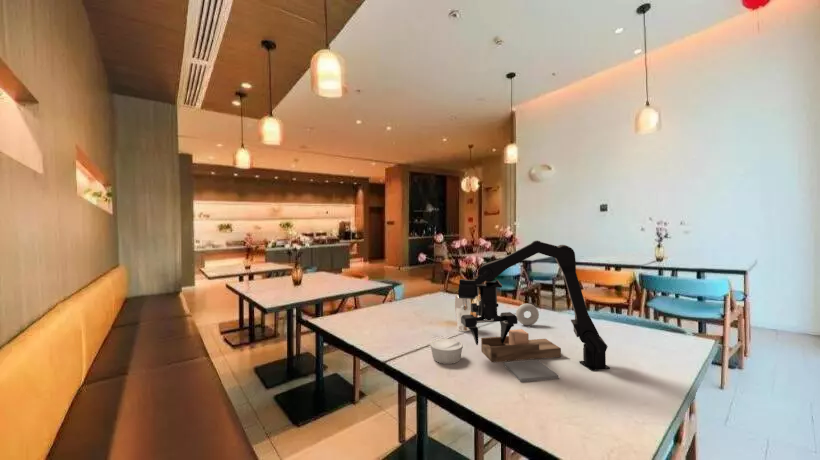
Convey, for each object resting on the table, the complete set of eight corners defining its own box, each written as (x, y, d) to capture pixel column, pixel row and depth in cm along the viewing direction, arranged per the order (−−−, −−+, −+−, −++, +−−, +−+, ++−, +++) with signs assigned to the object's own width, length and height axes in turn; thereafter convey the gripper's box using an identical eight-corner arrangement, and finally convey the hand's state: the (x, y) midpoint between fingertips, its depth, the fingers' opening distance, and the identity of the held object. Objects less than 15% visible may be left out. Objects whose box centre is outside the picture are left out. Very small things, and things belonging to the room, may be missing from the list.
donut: (537, 324, 155) (537, 302, 155) (540, 326, 151) (539, 304, 151) (515, 324, 156) (515, 302, 156) (517, 326, 152) (516, 304, 152)
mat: (558, 378, 101) (558, 375, 101) (520, 382, 99) (520, 378, 99) (538, 362, 113) (538, 359, 113) (503, 365, 111) (503, 362, 111)
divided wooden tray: (561, 356, 117) (560, 342, 117) (491, 362, 114) (491, 347, 114) (545, 346, 127) (545, 333, 127) (481, 351, 124) (481, 337, 124)
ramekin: (462, 366, 111) (461, 350, 111) (428, 364, 113) (428, 349, 113) (463, 353, 122) (463, 339, 122) (432, 352, 124) (432, 337, 124)
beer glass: (452, 328, 151) (451, 295, 151) (465, 326, 154) (464, 293, 154) (461, 333, 145) (460, 298, 145) (474, 330, 148) (473, 296, 148)
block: (528, 347, 118) (528, 333, 118) (515, 348, 117) (514, 334, 117) (522, 342, 123) (521, 329, 123) (509, 343, 122) (508, 330, 122)
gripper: (504, 293, 128) (505, 334, 128) (456, 296, 125) (457, 338, 125) (517, 299, 117) (518, 345, 117) (465, 303, 114) (466, 349, 114)
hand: (489, 343), depth 119 cm, fingers open, 9 cm apart
